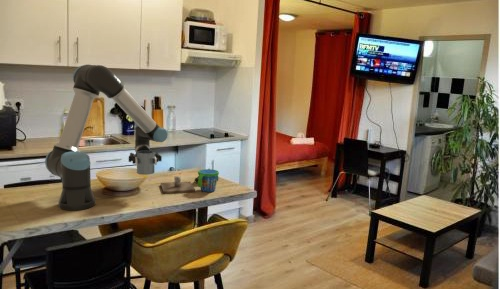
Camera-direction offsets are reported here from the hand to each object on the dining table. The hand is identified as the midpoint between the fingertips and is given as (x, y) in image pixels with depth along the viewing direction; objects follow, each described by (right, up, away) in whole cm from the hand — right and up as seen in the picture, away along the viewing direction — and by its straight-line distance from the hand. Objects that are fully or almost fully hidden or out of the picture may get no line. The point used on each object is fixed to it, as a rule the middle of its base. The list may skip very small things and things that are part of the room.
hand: (146, 162), depth 191 cm
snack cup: (+26, -16, +24) cm, 39 cm away
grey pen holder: (-2, -5, +5) cm, 8 cm away
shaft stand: (+10, -15, +25) cm, 31 cm away
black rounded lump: (+22, -13, +39) cm, 47 cm away
